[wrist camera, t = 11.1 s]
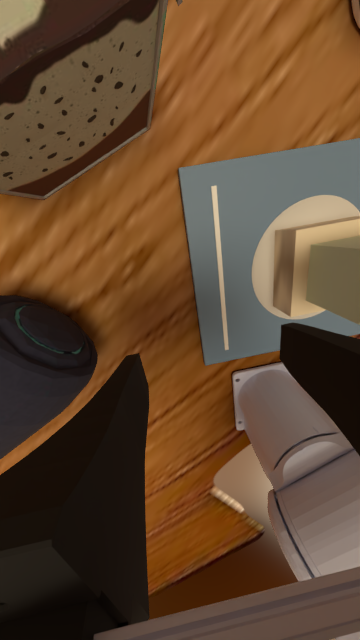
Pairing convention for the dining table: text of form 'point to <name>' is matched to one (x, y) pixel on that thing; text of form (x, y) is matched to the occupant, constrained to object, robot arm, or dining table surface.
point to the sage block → (336, 277)
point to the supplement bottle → (356, 11)
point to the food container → (73, 86)
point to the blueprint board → (265, 242)
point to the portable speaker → (38, 367)
